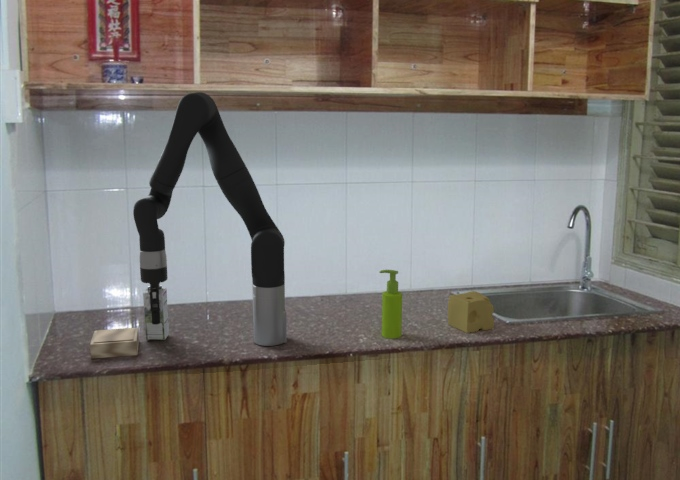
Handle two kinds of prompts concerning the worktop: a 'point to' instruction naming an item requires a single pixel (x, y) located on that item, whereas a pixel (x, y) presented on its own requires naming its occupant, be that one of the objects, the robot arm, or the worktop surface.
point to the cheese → (470, 312)
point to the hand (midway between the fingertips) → (156, 320)
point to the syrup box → (160, 329)
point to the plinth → (114, 343)
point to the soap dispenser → (391, 308)
